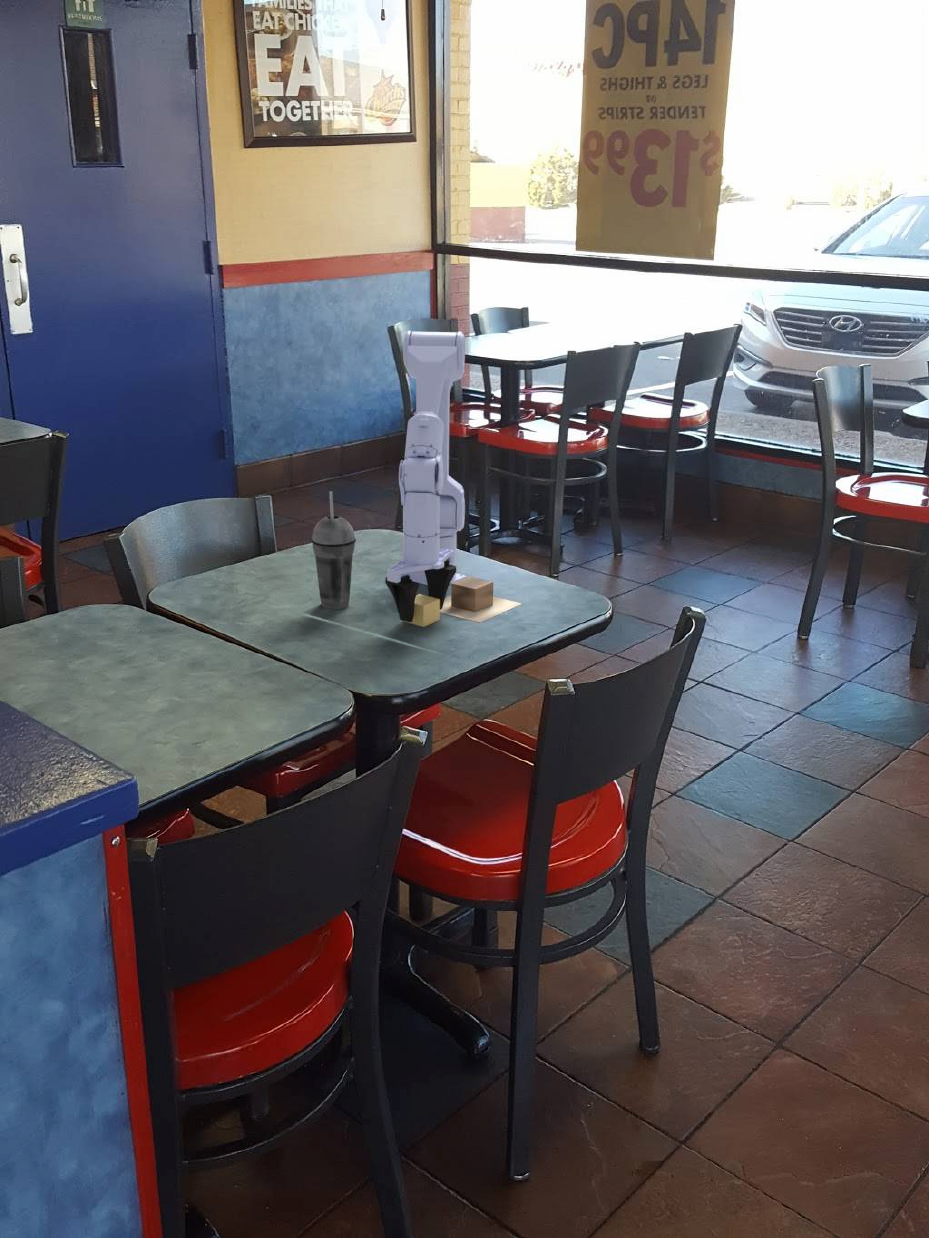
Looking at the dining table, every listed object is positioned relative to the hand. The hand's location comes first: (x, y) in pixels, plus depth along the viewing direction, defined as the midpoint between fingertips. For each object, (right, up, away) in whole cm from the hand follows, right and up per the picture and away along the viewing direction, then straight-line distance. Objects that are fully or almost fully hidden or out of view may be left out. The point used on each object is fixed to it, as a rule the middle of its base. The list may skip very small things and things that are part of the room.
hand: (421, 614), depth 193 cm
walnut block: (+8, +2, +8) cm, 11 cm away
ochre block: (0, -1, +1) cm, 2 cm away
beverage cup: (-15, +1, +7) cm, 16 cm away
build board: (+8, +1, +8) cm, 11 cm away
